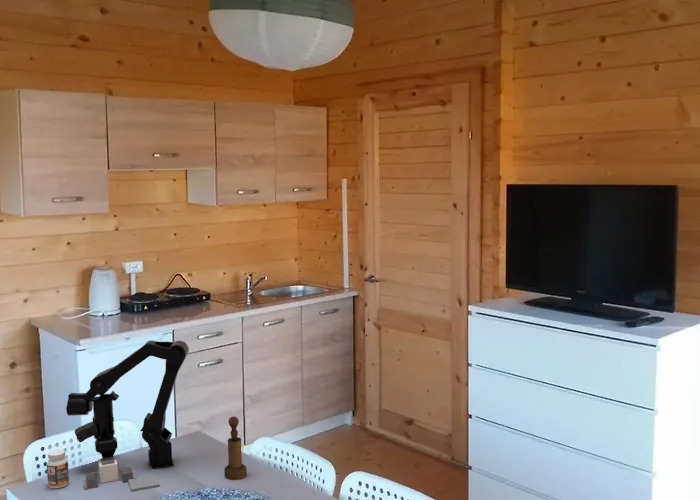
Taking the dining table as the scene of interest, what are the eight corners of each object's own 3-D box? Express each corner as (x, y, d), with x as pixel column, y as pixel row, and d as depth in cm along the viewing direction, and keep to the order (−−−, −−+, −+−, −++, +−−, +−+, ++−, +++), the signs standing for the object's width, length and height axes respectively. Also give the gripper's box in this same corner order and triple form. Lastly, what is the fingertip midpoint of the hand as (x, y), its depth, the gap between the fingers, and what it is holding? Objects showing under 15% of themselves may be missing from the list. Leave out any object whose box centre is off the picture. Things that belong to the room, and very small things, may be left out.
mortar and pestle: (251, 473, 218) (248, 415, 217) (239, 481, 213) (236, 421, 211) (232, 469, 221) (230, 412, 219) (220, 477, 215) (217, 419, 213)
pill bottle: (61, 489, 209) (59, 456, 208) (44, 488, 211) (41, 455, 210) (73, 481, 215) (70, 449, 214) (55, 480, 216) (53, 448, 215)
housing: (134, 473, 220) (133, 465, 220) (136, 480, 215) (135, 472, 214) (83, 482, 214) (82, 474, 214) (84, 489, 209) (83, 481, 209)
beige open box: (116, 472, 221) (115, 455, 220) (118, 479, 215) (117, 462, 215) (99, 475, 219) (98, 457, 218) (100, 483, 213) (99, 465, 213)
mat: (155, 476, 218) (155, 474, 218) (159, 486, 210) (159, 484, 210) (128, 480, 215) (127, 479, 214) (130, 491, 207) (130, 489, 207)
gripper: (74, 408, 230) (77, 456, 231) (76, 427, 213) (79, 478, 214) (111, 404, 234) (114, 450, 236) (116, 421, 217) (118, 472, 218)
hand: (106, 462), depth 226 cm, fingers open, 8 cm apart
